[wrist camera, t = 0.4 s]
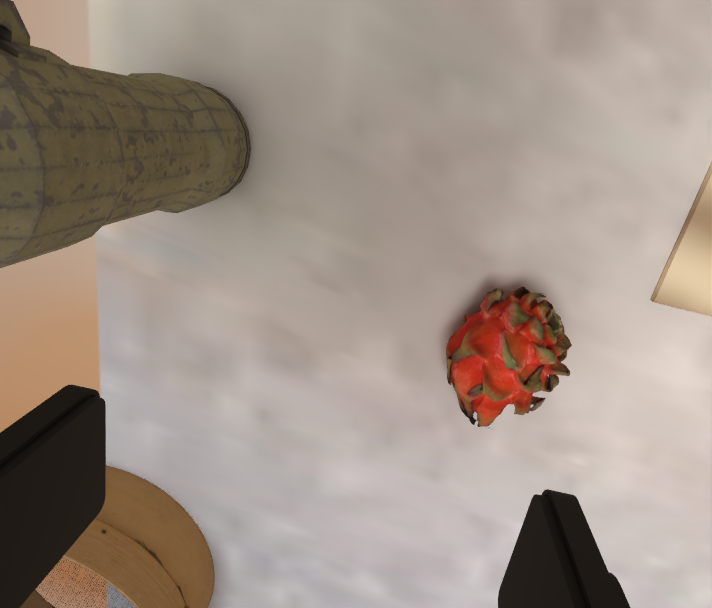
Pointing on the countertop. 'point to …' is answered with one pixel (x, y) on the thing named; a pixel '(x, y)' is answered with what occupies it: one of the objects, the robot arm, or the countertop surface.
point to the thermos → (102, 146)
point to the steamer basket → (143, 548)
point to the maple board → (691, 259)
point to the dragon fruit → (506, 355)
